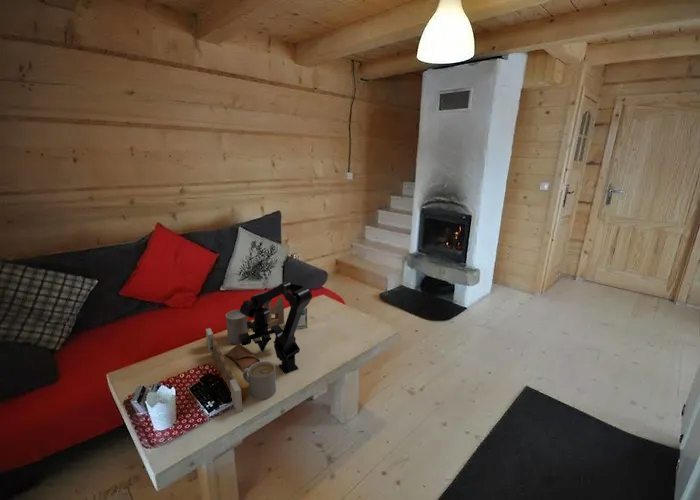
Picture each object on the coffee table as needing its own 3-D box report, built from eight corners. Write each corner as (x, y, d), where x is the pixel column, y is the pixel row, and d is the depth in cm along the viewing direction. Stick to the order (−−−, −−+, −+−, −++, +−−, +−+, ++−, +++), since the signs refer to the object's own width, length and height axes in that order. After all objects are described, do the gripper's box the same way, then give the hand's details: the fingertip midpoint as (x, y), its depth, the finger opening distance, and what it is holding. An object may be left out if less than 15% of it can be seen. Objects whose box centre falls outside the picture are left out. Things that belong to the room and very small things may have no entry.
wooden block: (284, 322, 185) (283, 291, 180) (266, 329, 178) (265, 297, 172) (280, 320, 187) (279, 289, 182) (263, 327, 180) (261, 295, 175)
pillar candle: (247, 332, 174) (245, 305, 170) (249, 342, 165) (247, 314, 161) (227, 336, 171) (224, 308, 166) (228, 346, 162) (225, 317, 158)
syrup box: (296, 329, 179) (296, 303, 175) (295, 323, 184) (294, 298, 180) (307, 328, 180) (307, 302, 176) (305, 322, 186) (305, 297, 182)
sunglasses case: (222, 354, 155) (228, 340, 156) (235, 356, 161) (241, 342, 161) (243, 373, 144) (250, 357, 144) (256, 373, 149) (263, 359, 150)
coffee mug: (281, 388, 135) (280, 366, 132) (262, 403, 127) (261, 380, 124) (257, 376, 142) (256, 355, 139) (237, 389, 134) (236, 367, 131)
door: (234, 395, 130) (232, 375, 127) (228, 397, 129) (226, 377, 126) (214, 353, 156) (213, 336, 153) (209, 354, 155) (208, 337, 152)
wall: (242, 410, 123) (240, 388, 121) (236, 413, 122) (235, 390, 120) (211, 345, 162) (210, 327, 160) (207, 346, 161) (205, 328, 159)
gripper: (274, 308, 163) (275, 337, 168) (234, 317, 153) (236, 348, 158) (283, 318, 154) (284, 349, 159) (241, 328, 144) (243, 361, 149)
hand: (262, 351), depth 156 cm, fingers closed
